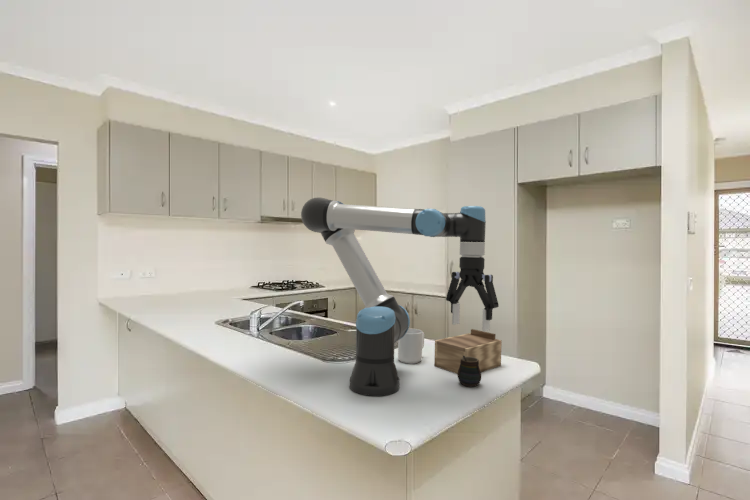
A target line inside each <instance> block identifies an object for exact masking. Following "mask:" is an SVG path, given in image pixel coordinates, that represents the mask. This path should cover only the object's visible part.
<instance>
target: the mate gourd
mask: <svg viewBox="0 0 750 500" xmlns="http://www.w3.org/2000/svg"><path fill="white" fill-rule="evenodd" d="M462 356H463V355H462ZM460 363H461V364H460V367H459V369H458V374H457V379H458V382H459V383H460V384H461V385H463V386H465V387H470V388H472V387H473V388H474V387H477V386H478V385H480V383H481V380H482V372H481V371H480V368H479V360H478V359H477V358H474V357H465V356H463V357H462V358H461V362H460Z"/></svg>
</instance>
